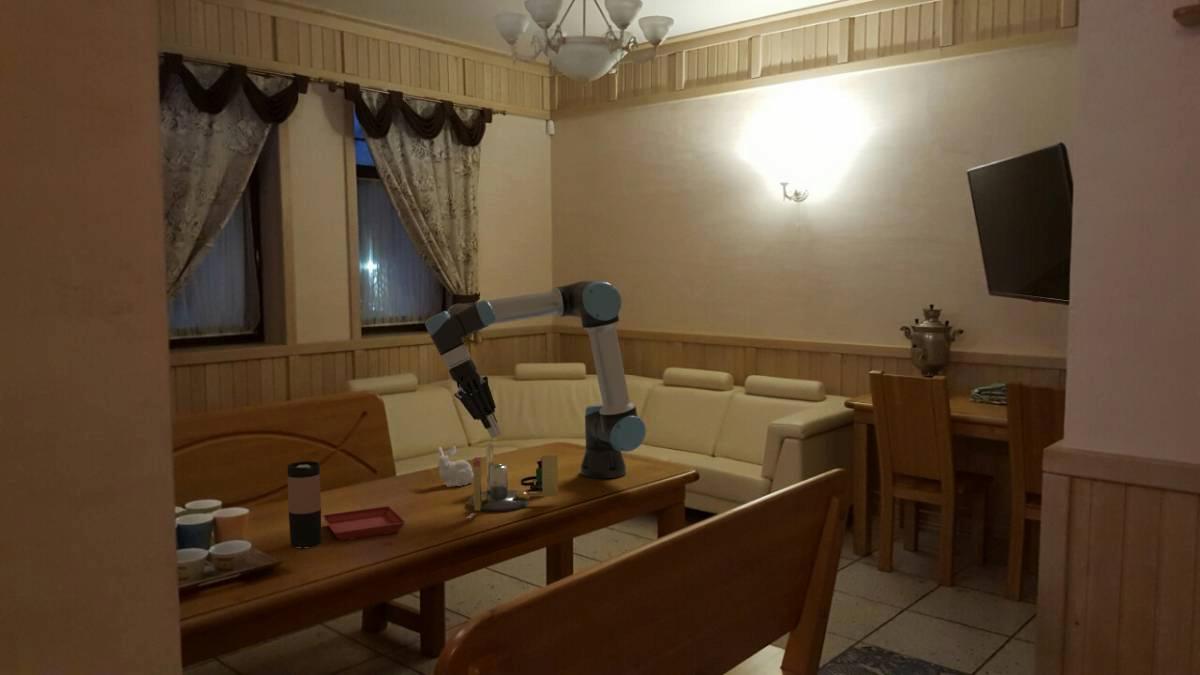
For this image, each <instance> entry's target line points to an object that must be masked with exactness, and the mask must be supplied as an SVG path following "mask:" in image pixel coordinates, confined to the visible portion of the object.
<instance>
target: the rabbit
mask: <svg viewBox="0 0 1200 675" xmlns="http://www.w3.org/2000/svg"><path fill="white" fill-rule="evenodd" d="M437 450H438V453H439V457H438V462H437V467H438V468H439V469H438V474H439V476H440V477H441V479H443V480H445V482H443V484H442V486H444V485H446V486H447V488H451V486H452V487H455V486H458V487H463V485H464V486H467V485H468V484H470V483H472V482H474V472H473V467H472V465H471V464H470V463H469V462H468V461H466V460H463V459H459V460H455V461H450V460H449V458H450V457H452V456H453V455H455V454H456V453H457V446H455V445H453V446H452V447H451V448H450V449H449V450H448V451H447V453H446V454H445V453H444V451H443V448H442V447H441V446H439V447H438V448H437ZM446 486H445V487H446Z"/></svg>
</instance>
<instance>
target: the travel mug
mask: <svg viewBox="0 0 1200 675" xmlns="http://www.w3.org/2000/svg"><path fill="white" fill-rule="evenodd" d="M320 474H321V473H320V463H319V462H317V461H309V460H307V461H297V462H291V463H289V464H287V499H288V500H287V503H288V504H287V506H288V508H287V509H288V522H289V523H288V524H289V536H290V537H289V539H290V546H291V547H292V546H293V547H301V548H300V549H306V548H305V547H311V548H313V547H312V546H315V547H317V546H319V545H321V543H322V502H321V501H322V500H321V496H322V495H321V477H320V476H321V475H320ZM318 544H319V545H318ZM316 545H317V546H316ZM293 547H292V548H293Z"/></svg>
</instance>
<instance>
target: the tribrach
mask: <svg viewBox="0 0 1200 675" xmlns="http://www.w3.org/2000/svg"><path fill="white" fill-rule="evenodd" d="M485 446H486V482H487V486H486V490H484V491H481V494H486V495H488V501H487V502H485V503H482V506H481V509H480V510H478V511H479V512H486V511H488V512H489V513H500V512H499V511H504V512H511V511H510V510H512V511H517V510H520V508H521V509H524V508H526V507H527V506H528V505H529V500H530V497H542V498H550V497H551V498H552V497H554V498H555V497H558V496H559V492H558V491H559V489H558V488H559V482H558V480H559V478H558V453H550V454H548V453H546V454H541V458H542V491H539V490H538V492H528V491H526V490H516V489H515V490H513V489H508V465H505V464H503V463H494V460H495V459H494V458H495V457H494V453H495V452H494V445H493V444H492V443H486V445H485ZM473 496H474V493H473V494H471V495H470V496H469V498H468V501H469V502H468V503H469V505H470V506H469V505H468V506H469V507H470V508H471V509H472V508H473V509H472V510H474V502H473ZM516 509H517V510H516ZM488 512H487V513H488ZM474 515H475V516H476V515H477V513H476V512H471V513H470V514H469V515H468V516H466V518H467V519H466V520H471V519H473V516H474ZM475 516H474V517H475ZM468 518H469V519H468Z"/></svg>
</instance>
